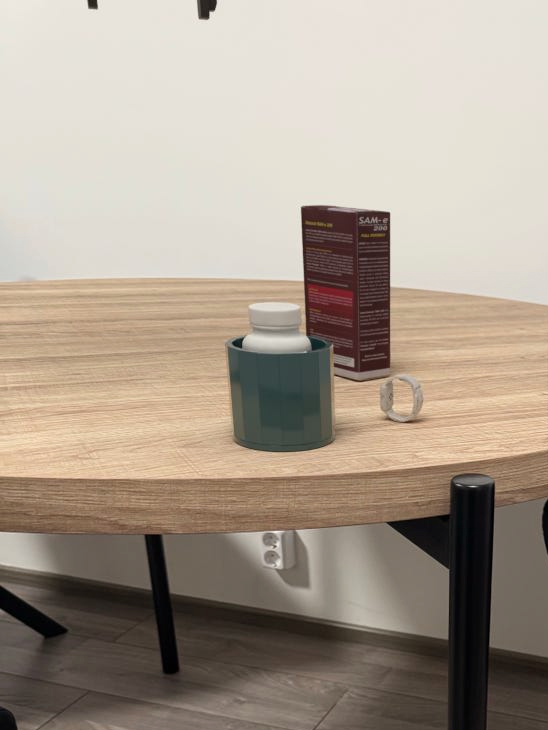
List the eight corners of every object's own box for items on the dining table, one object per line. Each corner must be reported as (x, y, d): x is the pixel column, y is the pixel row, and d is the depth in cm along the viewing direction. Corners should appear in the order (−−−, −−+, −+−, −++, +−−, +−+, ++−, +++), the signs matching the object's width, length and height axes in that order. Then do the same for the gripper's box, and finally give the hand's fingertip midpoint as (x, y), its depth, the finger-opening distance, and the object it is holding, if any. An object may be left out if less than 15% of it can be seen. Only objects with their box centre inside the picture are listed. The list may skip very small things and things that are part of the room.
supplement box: (393, 376, 99) (393, 210, 92) (358, 382, 96) (355, 211, 88) (339, 362, 104) (335, 204, 96) (304, 367, 101) (297, 204, 93)
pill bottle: (275, 418, 80) (269, 298, 76) (328, 429, 78) (324, 305, 74) (233, 432, 76) (224, 305, 71) (287, 444, 74) (281, 314, 69)
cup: (240, 454, 73) (233, 355, 69) (226, 426, 79) (219, 334, 76) (345, 448, 75) (343, 352, 72) (322, 421, 82) (319, 332, 78)
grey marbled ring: (425, 420, 84) (426, 374, 82) (417, 425, 82) (417, 379, 80) (388, 415, 85) (387, 370, 83) (379, 421, 83) (378, 375, 81)
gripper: (13, -291, 63) (53, 0, 71) (230, -251, 68) (246, 18, 75) (18, -254, 69) (55, 10, 77) (217, -220, 74) (233, 26, 81)
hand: (150, 13), depth 76 cm, fingers open, 8 cm apart
